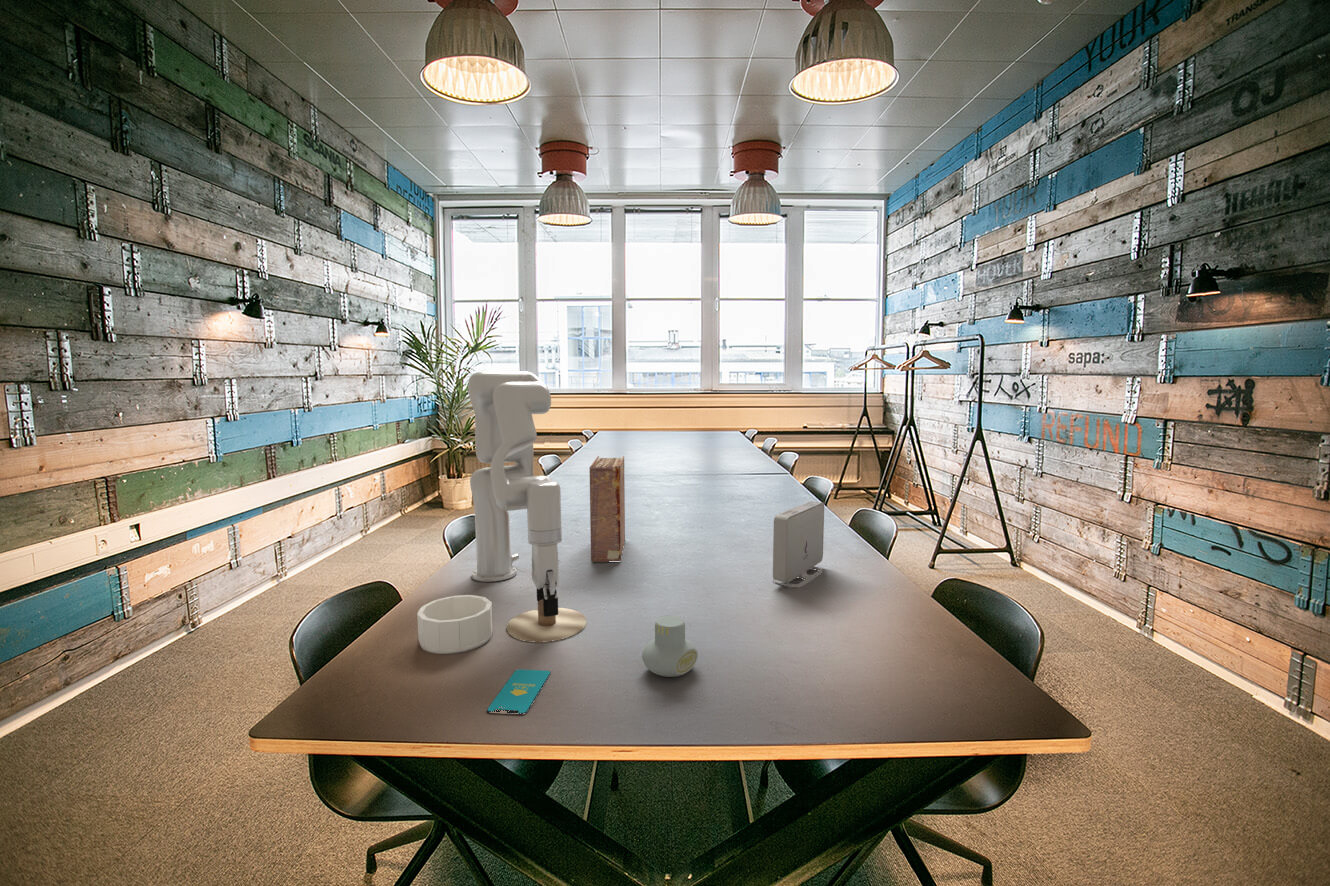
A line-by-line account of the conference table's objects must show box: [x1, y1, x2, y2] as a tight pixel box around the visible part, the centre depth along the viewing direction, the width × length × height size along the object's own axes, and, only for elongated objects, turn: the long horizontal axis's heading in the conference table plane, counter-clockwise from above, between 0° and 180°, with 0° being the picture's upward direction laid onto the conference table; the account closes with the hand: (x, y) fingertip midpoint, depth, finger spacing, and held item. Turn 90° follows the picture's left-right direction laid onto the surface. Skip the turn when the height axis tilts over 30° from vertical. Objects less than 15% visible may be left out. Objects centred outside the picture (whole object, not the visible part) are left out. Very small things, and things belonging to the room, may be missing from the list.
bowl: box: [416, 594, 494, 655], centre depth 131 cm, size 15×15×7 cm
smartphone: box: [486, 668, 552, 714], centre depth 109 cm, size 7×1×15 cm
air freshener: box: [641, 615, 699, 678], centre depth 116 cm, size 11×8×10 cm
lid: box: [506, 599, 587, 643], centre depth 138 cm, size 18×18×6 cm
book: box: [589, 455, 626, 563], centre depth 195 cm, size 25×9×30 cm, turn 1°
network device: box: [772, 500, 825, 588], centre depth 170 cm, size 26×9×20 cm, turn 143°
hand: (547, 607), depth 137 cm, fingers open, 9 cm apart
